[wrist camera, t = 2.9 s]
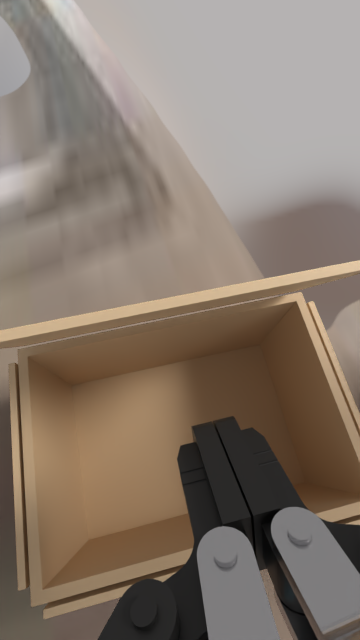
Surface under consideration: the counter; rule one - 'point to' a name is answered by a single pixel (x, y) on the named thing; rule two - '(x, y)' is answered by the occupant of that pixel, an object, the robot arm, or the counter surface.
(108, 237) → the counter surface
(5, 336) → the flap
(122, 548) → the carton
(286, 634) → the counter surface
